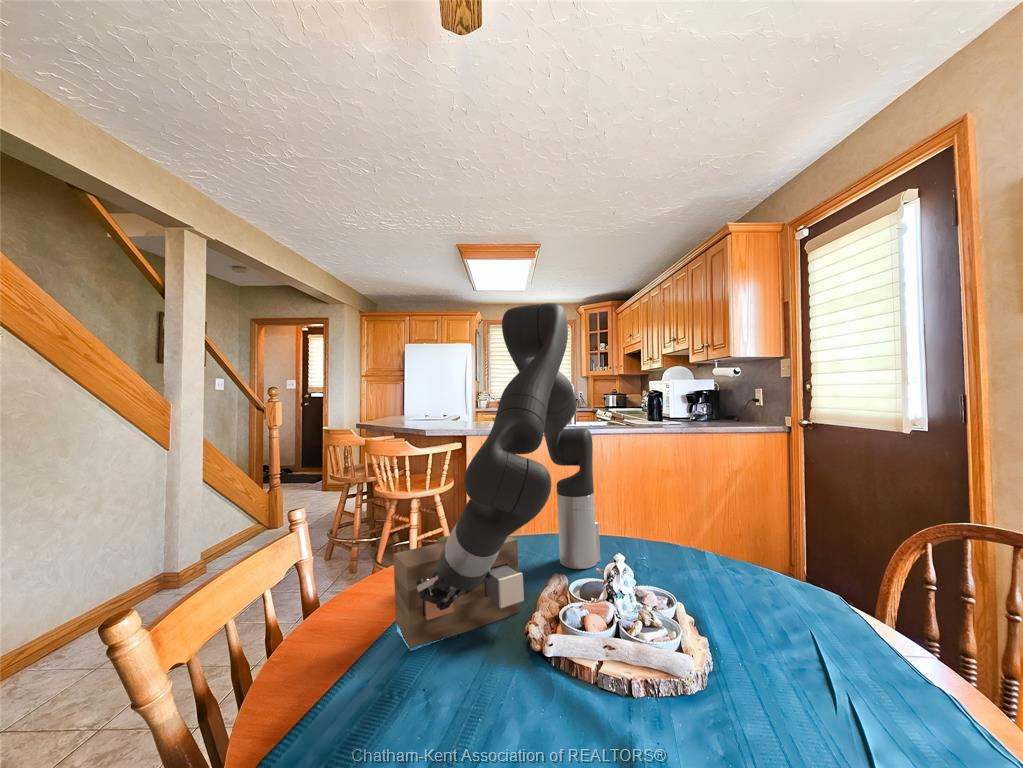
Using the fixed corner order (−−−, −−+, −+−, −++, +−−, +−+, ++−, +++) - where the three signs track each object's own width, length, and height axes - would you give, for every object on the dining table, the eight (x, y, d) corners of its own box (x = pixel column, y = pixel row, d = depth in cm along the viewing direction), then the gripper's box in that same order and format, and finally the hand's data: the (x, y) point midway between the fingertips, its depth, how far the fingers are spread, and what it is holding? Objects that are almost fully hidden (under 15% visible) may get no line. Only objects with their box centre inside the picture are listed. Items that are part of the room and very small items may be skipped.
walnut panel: (499, 596, 89) (497, 529, 90) (520, 612, 82) (517, 539, 83) (396, 630, 78) (393, 553, 78) (410, 652, 71) (407, 567, 71)
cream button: (500, 583, 84) (499, 559, 84) (523, 600, 76) (522, 573, 77) (478, 590, 81) (477, 565, 81) (500, 608, 74) (499, 580, 74)
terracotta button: (435, 593, 81) (434, 567, 81) (453, 611, 74) (452, 583, 74) (410, 600, 78) (409, 574, 79) (427, 620, 71) (426, 591, 71)
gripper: (499, 519, 68) (469, 572, 78) (420, 537, 61) (398, 593, 71) (519, 563, 63) (484, 613, 73) (435, 587, 56) (409, 639, 66)
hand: (442, 603), depth 72 cm, fingers closed
